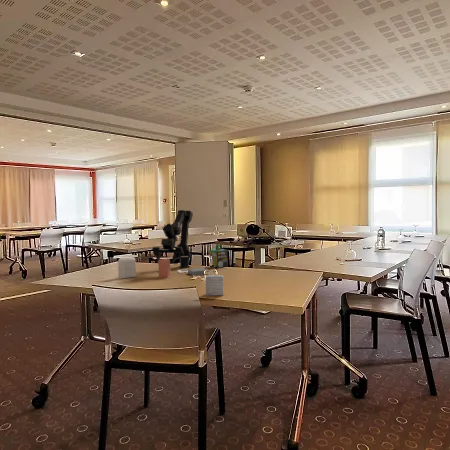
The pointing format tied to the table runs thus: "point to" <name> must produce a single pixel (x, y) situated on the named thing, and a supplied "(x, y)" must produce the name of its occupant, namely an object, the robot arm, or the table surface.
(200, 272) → the base brick
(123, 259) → the photo printer
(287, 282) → the table surface
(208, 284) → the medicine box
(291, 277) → the table surface
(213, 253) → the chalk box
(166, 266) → the red block
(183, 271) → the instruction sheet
